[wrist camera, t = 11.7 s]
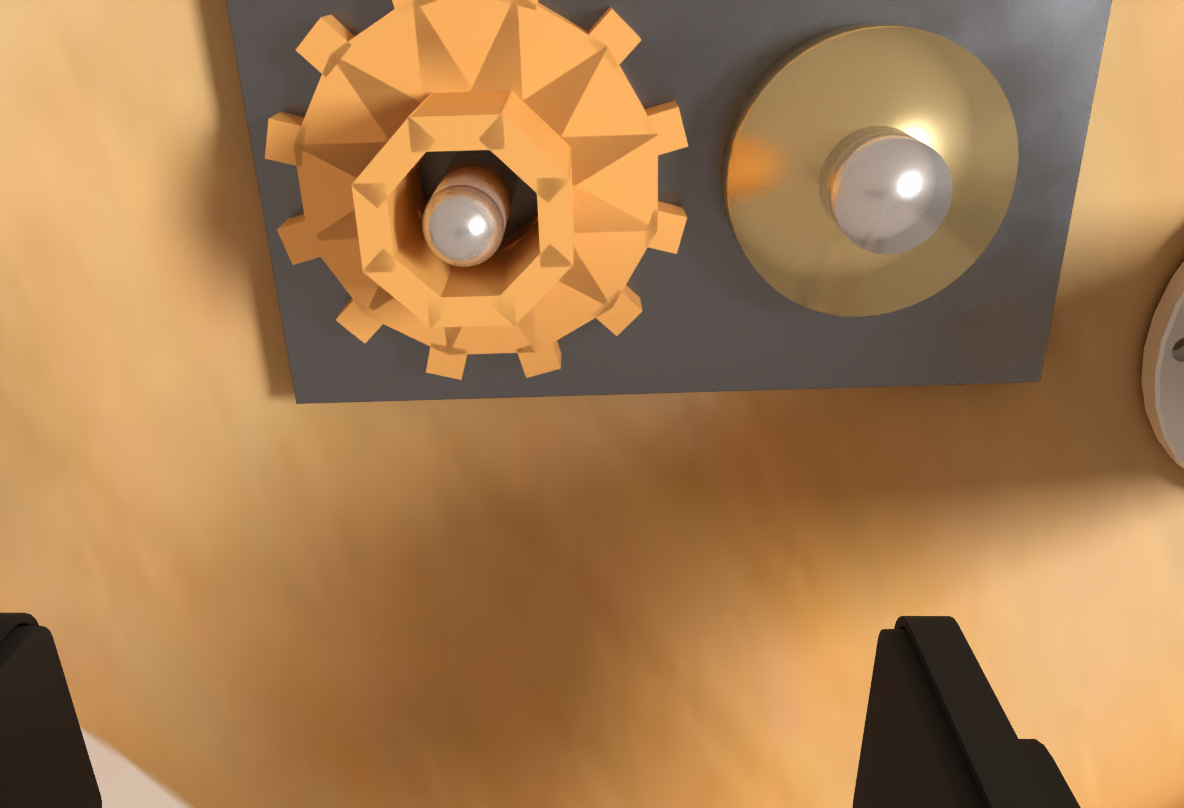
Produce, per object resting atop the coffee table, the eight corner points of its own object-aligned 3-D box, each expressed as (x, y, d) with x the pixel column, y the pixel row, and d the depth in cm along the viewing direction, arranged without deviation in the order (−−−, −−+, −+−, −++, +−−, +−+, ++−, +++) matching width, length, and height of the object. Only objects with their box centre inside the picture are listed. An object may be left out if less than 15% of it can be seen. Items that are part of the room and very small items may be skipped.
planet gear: (686, -48, 26) (711, -47, 21) (680, 358, 31) (699, 433, 26) (246, -36, 26) (172, -31, 21) (313, 369, 31) (265, 445, 26)
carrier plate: (1109, -107, 26) (1285, -123, 20) (1023, 367, 32) (1136, 474, 26) (227, -81, 26) (111, -90, 20) (305, 388, 32) (237, 500, 26)
